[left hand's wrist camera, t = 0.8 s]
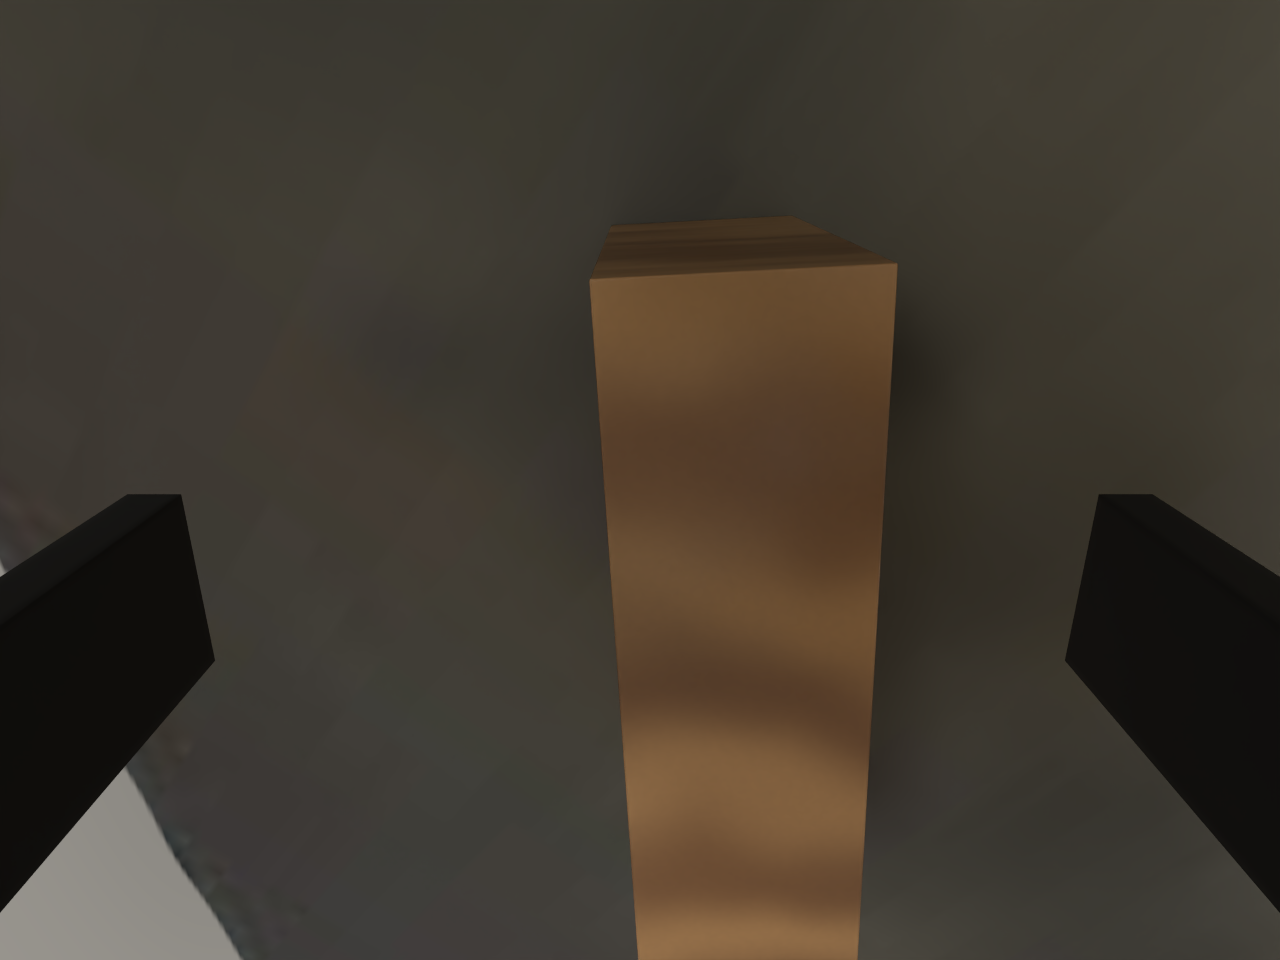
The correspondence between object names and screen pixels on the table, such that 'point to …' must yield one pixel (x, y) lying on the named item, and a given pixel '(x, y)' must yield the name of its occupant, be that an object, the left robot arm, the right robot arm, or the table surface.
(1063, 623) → the table surface
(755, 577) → the box
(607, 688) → the table surface
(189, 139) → the table surface
